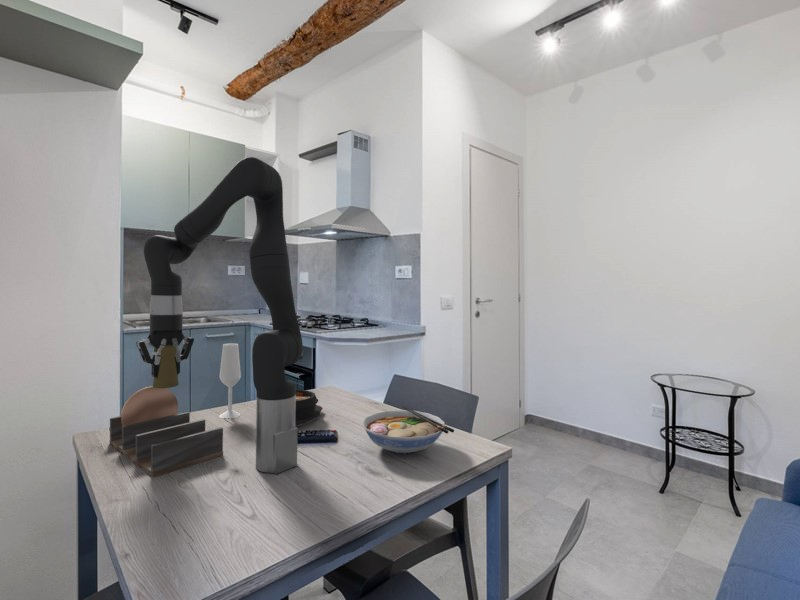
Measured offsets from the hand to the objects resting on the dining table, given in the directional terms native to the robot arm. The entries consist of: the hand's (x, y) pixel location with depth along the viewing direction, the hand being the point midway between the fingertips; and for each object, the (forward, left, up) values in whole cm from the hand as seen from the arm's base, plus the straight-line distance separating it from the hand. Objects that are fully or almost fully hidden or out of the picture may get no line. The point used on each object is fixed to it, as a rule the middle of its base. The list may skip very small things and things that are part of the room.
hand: (166, 376), depth 108 cm
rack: (0, 0, -19) cm, 19 cm away
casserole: (-5, -37, -20) cm, 42 cm away
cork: (0, 0, -3) cm, 3 cm away
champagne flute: (+14, -26, -19) cm, 35 cm away
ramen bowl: (-47, -43, -19) cm, 66 cm away
